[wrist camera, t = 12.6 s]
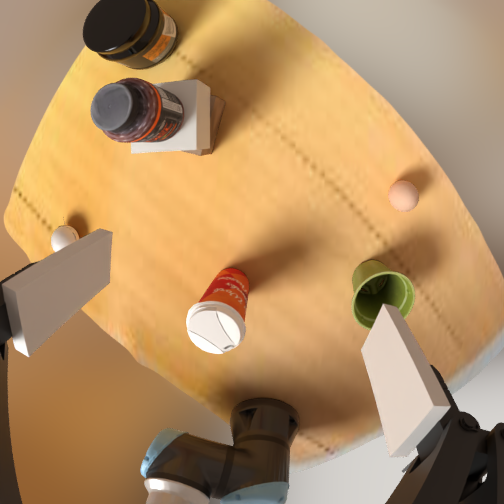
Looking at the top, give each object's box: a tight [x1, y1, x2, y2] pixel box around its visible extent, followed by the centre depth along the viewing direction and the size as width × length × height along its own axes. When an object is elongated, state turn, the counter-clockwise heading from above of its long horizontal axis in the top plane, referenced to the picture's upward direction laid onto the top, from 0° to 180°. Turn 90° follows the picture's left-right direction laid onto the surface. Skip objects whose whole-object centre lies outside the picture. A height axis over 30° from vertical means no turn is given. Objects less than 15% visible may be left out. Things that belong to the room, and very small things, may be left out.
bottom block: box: [182, 95, 226, 156], centre depth 39 cm, size 8×8×6 cm
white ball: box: [51, 217, 79, 252], centre depth 48 cm, size 8×6×6 cm
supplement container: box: [83, 0, 178, 70], centre depth 32 cm, size 10×10×12 cm
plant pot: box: [352, 260, 415, 330], centre depth 43 cm, size 9×9×9 cm
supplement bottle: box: [91, 78, 184, 143], centre depth 25 cm, size 6×6×11 cm
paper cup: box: [186, 268, 249, 354], centre depth 44 cm, size 8×8×14 cm
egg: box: [388, 180, 419, 212], centre depth 39 cm, size 4×4×6 cm
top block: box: [131, 79, 210, 154], centre depth 33 cm, size 8×8×6 cm
